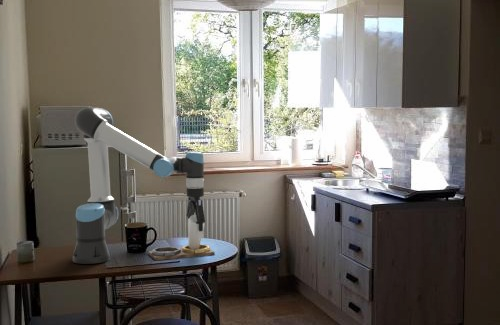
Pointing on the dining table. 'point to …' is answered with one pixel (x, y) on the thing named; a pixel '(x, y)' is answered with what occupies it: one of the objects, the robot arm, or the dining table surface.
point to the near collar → (174, 250)
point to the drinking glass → (193, 233)
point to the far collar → (189, 250)
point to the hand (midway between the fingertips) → (195, 235)
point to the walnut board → (180, 255)
